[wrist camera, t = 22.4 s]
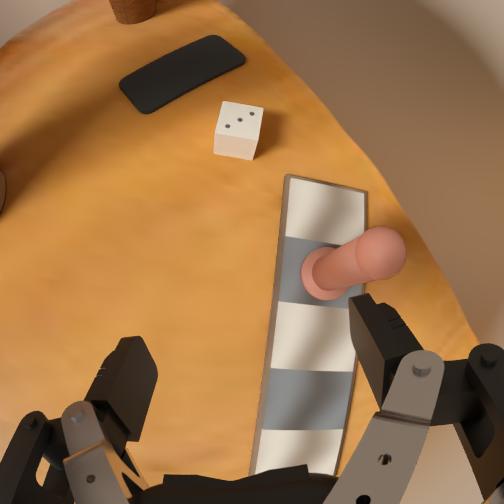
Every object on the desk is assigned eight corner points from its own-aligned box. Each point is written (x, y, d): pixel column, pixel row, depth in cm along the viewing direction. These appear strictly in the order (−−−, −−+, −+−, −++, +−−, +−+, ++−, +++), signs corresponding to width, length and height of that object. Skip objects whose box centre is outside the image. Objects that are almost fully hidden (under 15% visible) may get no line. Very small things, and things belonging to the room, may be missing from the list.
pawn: (297, 297, 28) (357, 283, 16) (302, 245, 29) (360, 200, 17) (345, 302, 28) (424, 291, 17) (349, 253, 29) (424, 216, 18)
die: (213, 154, 31) (214, 132, 27) (221, 123, 31) (223, 100, 27) (253, 161, 31) (259, 140, 27) (258, 129, 32) (264, 107, 28)
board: (247, 480, 24) (248, 485, 23) (284, 176, 31) (286, 172, 30) (332, 478, 25) (335, 482, 24) (363, 193, 32) (368, 190, 31)
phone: (115, 81, 30) (214, 32, 34) (117, 86, 31) (214, 36, 35) (144, 115, 30) (249, 59, 33) (145, 119, 31) (249, 64, 34)
